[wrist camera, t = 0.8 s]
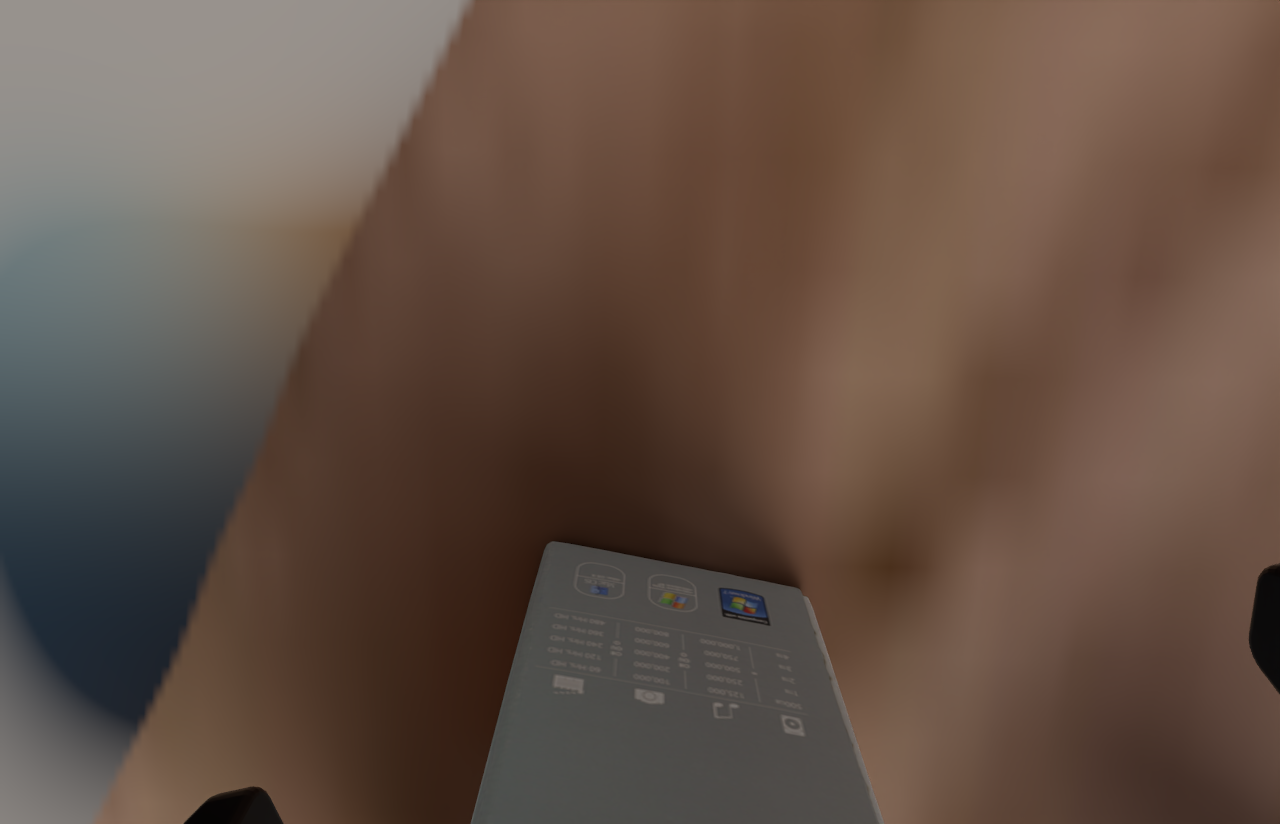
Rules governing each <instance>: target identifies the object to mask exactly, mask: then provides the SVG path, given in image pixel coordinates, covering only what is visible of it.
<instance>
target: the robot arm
mask: <svg viewBox="0 0 1280 824" xmlns="http://www.w3.org/2000/svg"><path fill="white" fill-rule="evenodd" d="M1249 645H1250V649H1251V652H1252V655H1253V657H1254V659H1255V661H1256V663H1257V665H1258V666H1259V668H1260V669H1261V671H1262V672H1263V673H1264V674H1265V676H1266V677H1267V678H1268V680H1269V681H1270V682H1271V684H1272V685H1273V686H1274V688H1275V689H1276V690H1277V691H1278V693H1279V694H1280V564H1275V565H1271V566H1269V567H1267V568H1265V569H1264V570H1263V571H1262V573H1261V574H1260V575H1259V577H1258V580H1257V586H1256V592H1255V599H1254V605H1253V611H1252V618H1251V624H1250V631H1249ZM184 824H283V822H282V820H281V818H280V816H279V814H278V812H277V810H276V808H275V806H274V804H273V802H272V800H271V798H270V797H269V795H268V794H267V792H266V791H264V790H263V789H262V788H260V787H248V788H243V789H238V790H234V791H229V792H225V793H220V794H217V795H215V796H212V797H211V798H209V799H208V800H207V801H206V802H204V803H203V804H202V805H201V806H200V807H199V808H198V809H197V810H196V811H195V812H194V813H193V814H192V815H191V816H190V817H189V818H188V819H187V820H186V821H185V823H184Z"/></svg>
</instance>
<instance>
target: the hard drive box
mask: <svg viewBox="0 0 1280 824" xmlns="http://www.w3.org/2000/svg"><path fill="white" fill-rule="evenodd" d="M471 824H884V822H883V819H882V816H881V813H880V810H879V807H878V804H877V801H876V798H875V795H874V792H873V789H872V786H871V783H870V780H869V777H868V774H867V771H866V768H865V765H864V762H863V759H862V756H861V752H860V749H859V746H858V743H857V740H856V737H855V734H854V731H853V728H852V725H851V722H850V719H849V716H848V713H847V710H846V707H845V704H844V701H843V698H842V695H841V692H840V689H839V686H838V683H837V680H836V677H835V674H834V671H833V667H832V664H831V661H830V658H829V655H828V652H827V649H826V646H825V643H824V640H823V637H822V634H821V631H820V628H819V625H818V622H817V619H816V616H815V614H814V611H813V608H812V605H811V603H810V601H809V599H808V597H806V596H803V595H802V592H801V590H800V589H798V588H795V587H790V586H785V585H780V584H776V583H771V582H766V581H761V580H756V579H751V578H745V577H740V576H735V575H731V574H726V573H721V572H714V571H709V570H705V569H700V568H694V567H689V566H684V565H678V564H673V563H668V562H662V561H657V560H652V559H647V558H642V557H636V556H631V555H626V554H621V553H616V552H611V551H606V550H601V549H596V548H590V547H585V546H580V545H574V544H569V543H562V542H554V541H552V542H550V543H548V544H547V546H546V548H545V550H544V553H543V557H542V560H541V563H540V567H539V570H538V574H537V577H536V581H535V584H534V588H533V591H532V595H531V598H530V602H529V605H528V609H527V613H526V616H525V620H524V624H523V627H522V631H521V635H520V638H519V642H518V646H517V649H516V653H515V657H514V660H513V664H512V668H511V671H510V675H509V679H508V682H507V686H506V690H505V694H504V697H503V701H502V705H501V709H500V713H499V717H498V721H497V724H496V728H495V732H494V736H493V740H492V744H491V748H490V752H489V755H488V759H487V763H486V767H485V771H484V775H483V779H482V782H481V786H480V790H479V794H478V798H477V802H476V805H475V809H474V813H473V817H472V821H471Z"/></svg>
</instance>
